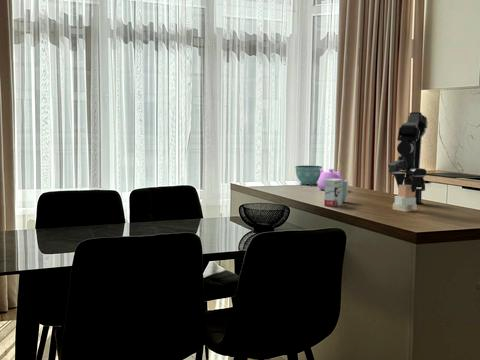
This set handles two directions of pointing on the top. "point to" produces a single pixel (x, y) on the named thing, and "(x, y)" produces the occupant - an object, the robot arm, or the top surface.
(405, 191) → the cube
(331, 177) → the teapot
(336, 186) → the ink box
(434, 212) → the top surface
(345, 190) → the cup
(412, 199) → the tower top
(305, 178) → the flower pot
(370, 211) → the top surface
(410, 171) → the robot arm
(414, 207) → the tower base
